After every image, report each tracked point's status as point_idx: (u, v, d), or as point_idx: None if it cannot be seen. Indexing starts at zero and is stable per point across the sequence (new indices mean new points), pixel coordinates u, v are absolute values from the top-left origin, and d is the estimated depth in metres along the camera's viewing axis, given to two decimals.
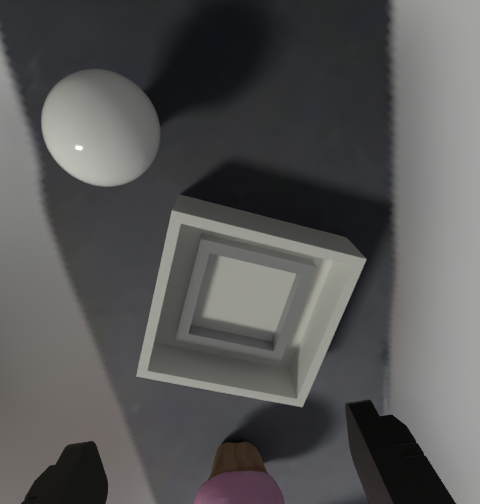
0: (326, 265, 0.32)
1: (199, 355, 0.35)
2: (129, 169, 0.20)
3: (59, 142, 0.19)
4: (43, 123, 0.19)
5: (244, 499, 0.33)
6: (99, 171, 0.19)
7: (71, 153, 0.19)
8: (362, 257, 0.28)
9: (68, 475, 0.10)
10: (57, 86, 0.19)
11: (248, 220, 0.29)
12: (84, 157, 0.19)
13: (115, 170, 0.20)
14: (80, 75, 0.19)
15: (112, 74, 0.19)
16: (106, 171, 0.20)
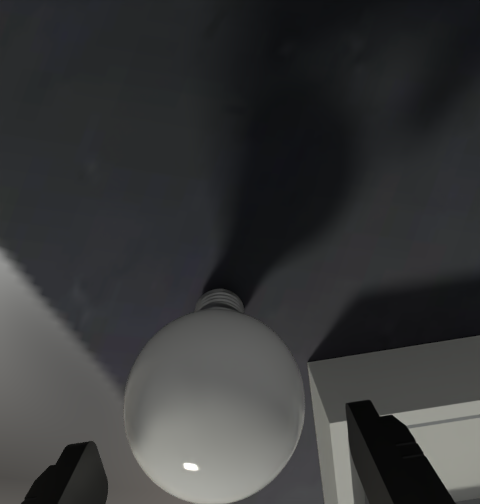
0: None
1: None
2: (285, 463, 0.12)
3: (172, 489, 0.11)
4: (136, 457, 0.11)
5: None
6: (247, 496, 0.11)
7: (198, 498, 0.11)
8: None
9: (68, 475, 0.10)
10: (136, 396, 0.11)
11: (424, 372, 0.19)
12: (221, 497, 0.11)
13: (269, 481, 0.11)
14: (163, 367, 0.11)
15: (206, 335, 0.12)
16: (257, 491, 0.11)
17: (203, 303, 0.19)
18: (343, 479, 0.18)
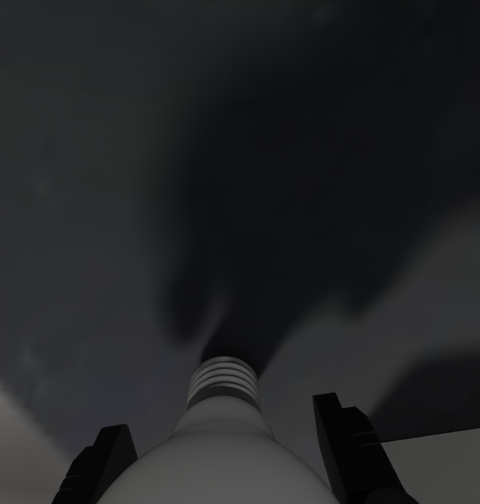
0: None
1: None
2: None
3: None
4: None
5: None
6: None
7: None
8: None
9: (107, 454, 0.10)
10: None
11: None
12: None
13: None
14: None
15: None
16: None
17: (200, 382, 0.13)
18: None
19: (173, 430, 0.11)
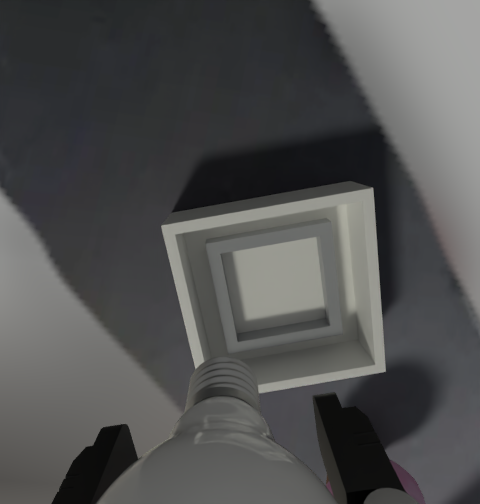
0: (342, 217, 0.30)
1: (259, 360, 0.33)
2: None
3: None
4: None
5: None
6: None
7: None
8: (368, 188, 0.26)
9: (107, 454, 0.10)
10: None
11: (241, 205, 0.28)
12: None
13: None
14: None
15: None
16: None
17: (199, 383, 0.13)
18: (177, 270, 0.27)
19: (172, 431, 0.11)
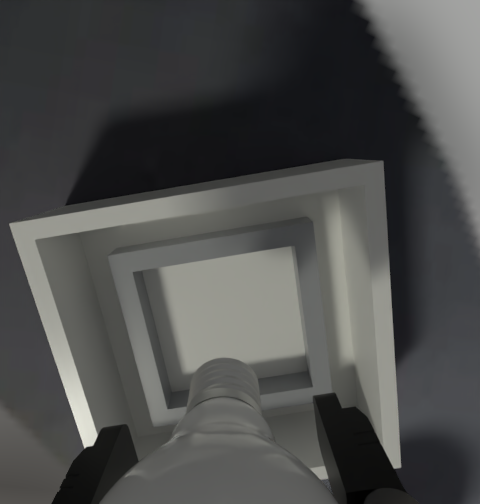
0: (332, 215, 0.19)
1: None
2: None
3: None
4: None
5: None
6: None
7: None
8: (374, 162, 0.14)
9: (107, 454, 0.10)
10: None
11: (162, 192, 0.17)
12: None
13: None
14: None
15: None
16: None
17: (200, 384, 0.13)
18: (44, 301, 0.16)
19: (174, 432, 0.11)
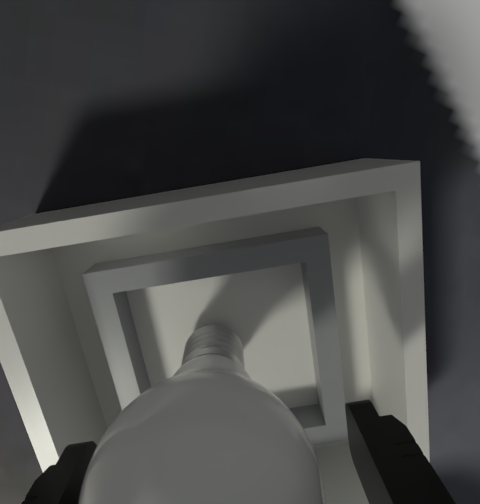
0: (350, 225, 0.16)
1: None
2: None
3: None
4: None
5: None
6: None
7: None
8: (408, 162, 0.12)
9: (68, 475, 0.10)
10: None
11: (147, 199, 0.14)
12: None
13: None
14: (128, 477, 0.08)
15: (191, 425, 0.08)
16: None
17: (193, 345, 0.15)
18: (1, 333, 0.13)
19: None
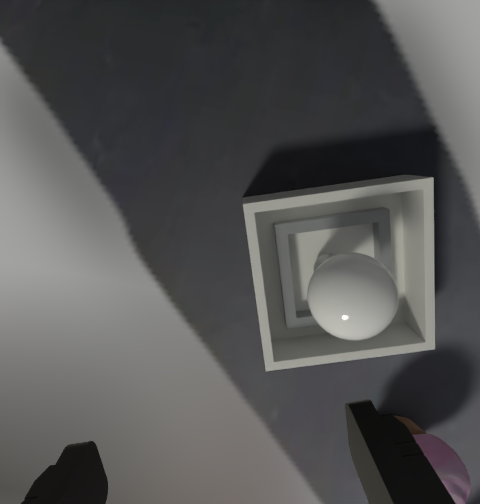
0: (397, 206, 0.33)
1: (313, 338, 0.36)
2: None
3: (344, 324, 0.24)
4: (323, 313, 0.25)
5: None
6: (375, 332, 0.25)
7: (355, 328, 0.24)
8: (428, 177, 0.29)
9: (68, 475, 0.10)
10: (326, 284, 0.25)
11: (309, 191, 0.31)
12: (366, 328, 0.24)
13: (384, 326, 0.25)
14: (340, 271, 0.25)
15: (356, 258, 0.25)
16: (379, 330, 0.25)
17: (323, 260, 0.32)
18: (253, 245, 0.30)
19: None
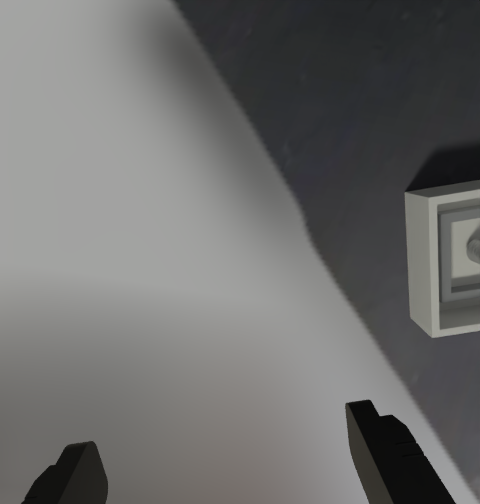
0: None
1: (460, 310, 0.42)
2: None
3: None
4: None
5: None
6: None
7: None
8: None
9: (68, 475, 0.10)
10: None
11: (472, 185, 0.37)
12: None
13: None
14: None
15: None
16: None
17: None
18: (433, 232, 0.36)
19: None
